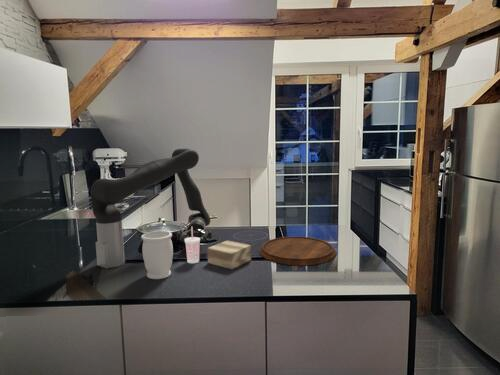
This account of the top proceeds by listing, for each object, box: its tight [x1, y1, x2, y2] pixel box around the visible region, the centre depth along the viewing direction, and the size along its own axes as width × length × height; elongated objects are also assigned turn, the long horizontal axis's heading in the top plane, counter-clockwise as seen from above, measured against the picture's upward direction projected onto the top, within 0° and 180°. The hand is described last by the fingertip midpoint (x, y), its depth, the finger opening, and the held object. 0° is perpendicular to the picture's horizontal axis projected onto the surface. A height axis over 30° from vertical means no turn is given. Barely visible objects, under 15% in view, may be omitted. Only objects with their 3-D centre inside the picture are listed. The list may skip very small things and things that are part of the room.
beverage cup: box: [184, 227, 201, 264], centre depth 146 cm, size 6×6×14 cm
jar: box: [141, 230, 174, 280], centre depth 132 cm, size 11×10×15 cm
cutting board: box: [258, 236, 337, 266], centre depth 156 cm, size 32×32×3 cm
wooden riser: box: [207, 239, 252, 270], centre depth 145 cm, size 12×12×6 cm
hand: (193, 239), depth 150 cm, fingers open, 8 cm apart
